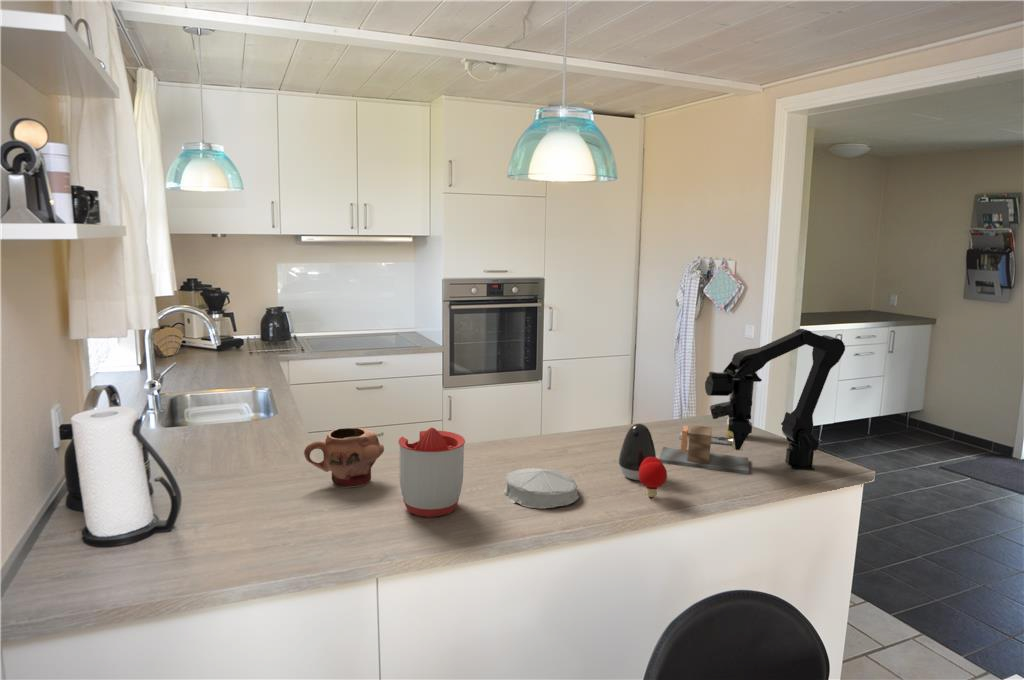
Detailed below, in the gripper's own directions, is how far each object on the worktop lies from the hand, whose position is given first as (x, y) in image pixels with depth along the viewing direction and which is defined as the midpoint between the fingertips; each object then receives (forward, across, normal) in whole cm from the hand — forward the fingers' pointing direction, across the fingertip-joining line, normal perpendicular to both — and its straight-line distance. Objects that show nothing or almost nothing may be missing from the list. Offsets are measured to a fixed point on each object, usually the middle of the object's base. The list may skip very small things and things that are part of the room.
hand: (737, 447), depth 195 cm
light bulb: (+6, +34, -21) cm, 40 cm away
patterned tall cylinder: (+6, -31, 0) cm, 31 cm away
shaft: (0, 0, -8) cm, 8 cm away
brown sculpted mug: (+6, +55, -97) cm, 111 cm away
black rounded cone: (+6, +21, -26) cm, 34 cm away
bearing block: (+6, 0, -9) cm, 11 cm away
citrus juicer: (+6, +60, -70) cm, 93 cm away
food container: (+6, +42, -48) cm, 64 cm away
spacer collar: (+2, 0, -15) cm, 15 cm away
